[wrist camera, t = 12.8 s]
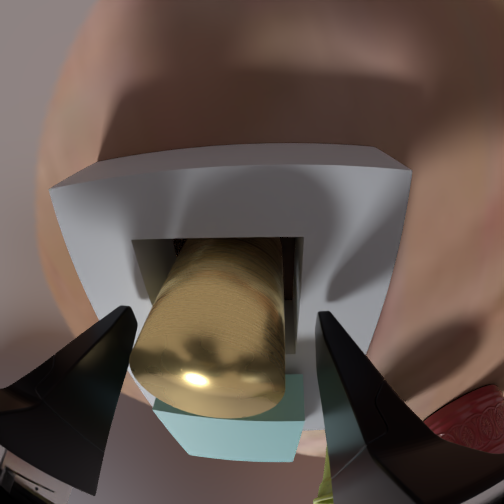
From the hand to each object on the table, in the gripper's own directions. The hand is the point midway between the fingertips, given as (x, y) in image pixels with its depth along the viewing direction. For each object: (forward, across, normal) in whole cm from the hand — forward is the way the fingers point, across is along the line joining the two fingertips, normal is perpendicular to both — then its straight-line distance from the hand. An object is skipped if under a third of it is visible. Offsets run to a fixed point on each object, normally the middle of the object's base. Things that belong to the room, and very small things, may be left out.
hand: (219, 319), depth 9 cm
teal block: (0, 0, +8) cm, 8 cm away
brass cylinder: (+4, 0, 0) cm, 4 cm away
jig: (+4, 0, +3) cm, 5 cm away
